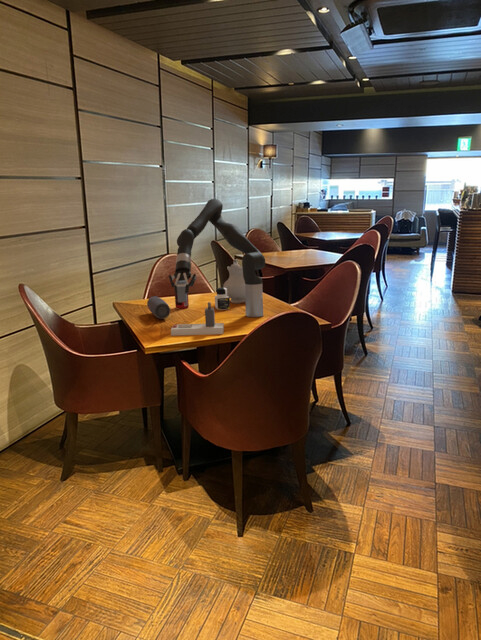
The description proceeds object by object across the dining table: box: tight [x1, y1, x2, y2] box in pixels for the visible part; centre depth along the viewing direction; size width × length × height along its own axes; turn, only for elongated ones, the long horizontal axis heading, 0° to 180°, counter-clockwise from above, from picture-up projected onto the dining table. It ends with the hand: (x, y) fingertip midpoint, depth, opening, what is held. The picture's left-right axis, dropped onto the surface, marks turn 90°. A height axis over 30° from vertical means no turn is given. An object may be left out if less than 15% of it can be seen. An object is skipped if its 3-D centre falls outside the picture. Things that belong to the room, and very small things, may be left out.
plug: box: [175, 280, 189, 302], centre depth 233 cm, size 4×4×10 cm
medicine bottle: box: [214, 287, 231, 311], centre depth 276 cm, size 7×7×12 cm
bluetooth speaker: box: [146, 295, 171, 320], centre depth 262 cm, size 23×9×10 cm, turn 21°
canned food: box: [174, 292, 190, 310], centre depth 282 cm, size 8×8×11 cm
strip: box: [170, 302, 225, 337], centre depth 226 cm, size 24×9×14 cm, turn 89°
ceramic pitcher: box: [222, 259, 245, 304], centre depth 294 cm, size 22×20×25 cm
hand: (181, 292), depth 231 cm, fingers closed on plug, 4 cm apart
